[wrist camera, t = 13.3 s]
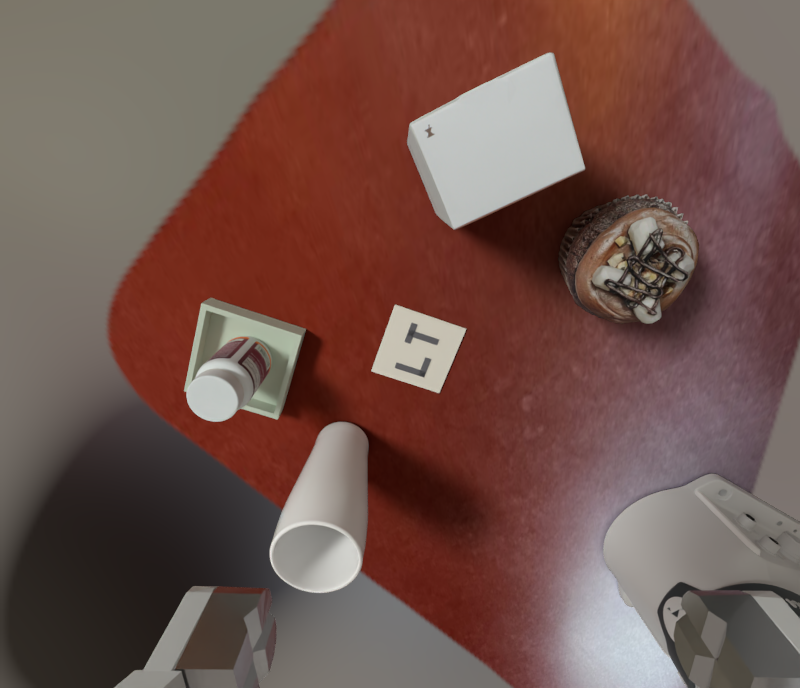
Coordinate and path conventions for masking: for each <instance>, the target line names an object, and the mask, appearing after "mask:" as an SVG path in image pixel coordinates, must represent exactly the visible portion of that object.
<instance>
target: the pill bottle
mask: <svg viewBox="0 0 800 688" xmlns="http://www.w3.org/2000/svg"><path fill="white" fill-rule="evenodd" d="M271 366H272V357H271V353H270V351H269V349H268V348H267V346H266V345H265V344H264V343H263V342H261V341H260V340H258V339H256V338H254V337H250V336H239V337H235V338H233V339H231V340H230V341H228V342H227V343H226V344H225V345H224V346H223V347H222V348H221V349H220V350H218V351H217V352H216V353H215V354H214V355H213V356H212V357H211V358H210V359H209V360H208V361H207V362H205V363H204V364H203V365H202V366H201V367H200V369H199V370H198V372H197V374H196V377H195V379H194V380H193V381H192V382H191V383H190V385H189V387H188V389H187V402H188V404H189V406H190V408H191V409H192V411H193V412H194V413H195V414H196V415H198V416H199V417H201V418H203V419H205V420H208V421H214V422H219V421H224V420H227V419H229V418H230V417H232V416H233V415H234V414H235V413H236V411H237V410H239V409H241V408H242V407H244V406H245V405H246V404H247V403H248V402H249V401H250V400H251V398H252V397H253V395H254V394H255V392H256V391H257V389H258V388H259V386H260V385H261V384H262V382H263V381H264V379H265V378H266V376H267V375H268V373H269V372H270V369H271Z"/></svg>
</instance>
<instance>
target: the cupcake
mask: <svg viewBox="0 0 800 688" xmlns="http://www.w3.org/2000/svg"><path fill="white" fill-rule="evenodd" d="M671 205H672V204H671V203H670V202H666V203H665V202H664V200H663V199H659V200H658V198H657V197H654V198H651V199H649V197H648V196H647V195H644V196H639V195H635V196H632V197H630V198H629V196H628V195H627V196H625V197H623V198H621V199H618V198H617V199H615V200H613V201H611V202H608V203H607V204H604V205H599V206H596V207H594V208H593V209H590V210H588V211H585V212H583V214H582V215H581V216H580V217H578V218H575V219H574V220H573V223H572V226H571V227H570V228H568V230H567V232H566V233H565V236H564V238H563V240H562V242H561V246H560V251H559V258H558V261H559V267H560V269H561V273H562V275H563V277H564V280H565V283H566V284H567V286H568V288H569V291H570V293H571V294H572V296H573V299H574V301H575V303H576V304H577V305H578V306H580V307H581V308H582V309H584V310H585V311H587V312H589V313H590V314H592V315H596V316H597V317H599V318H603V319H606V320H608V321H611V322H615V323H616V324H617V323H621V324H623V323H629V322H639V321H641V322H643V323H646V324H649V323H654V322H655V321H657V320H659V319H660V318H661V317H662V316H661V312H662V311H664V310H666V309H667V308H668V307H669V306H670V305H671V304H672V303H673V302H674V301H675V300H676V299H677V298H678V296H679V295H680V294H681V293H682V291H683V290H684V288H685V287H686V285H687V284H688V282H689V280H690V279H691V276H692V274H693V272H694V269H695V267H696V264H697V258H698V250H699V243H698V240H697V236H696V235H695V233H694V232H693V230H692V229H691V228H690V227H689V226H688V225H687V223H688V221H682V220H681V219H682V217H683V214H682V213H681V214H677V209H678V208H676V207H674V208H671ZM676 214H677V215H676Z"/></svg>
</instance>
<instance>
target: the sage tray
mask: <svg viewBox="0 0 800 688" xmlns="http://www.w3.org/2000/svg"><path fill="white" fill-rule="evenodd" d="M305 332H306V329H304V328H301V327H298V326H295V325H292V324H289V323H286V322H283V321H280V320H277V319H274V318H271V317H268V316H265V315H262V314H259V313H256V312H253V311H250V310H247V309H243V308H240V307H237V306H234V305H231V304H228V303H225V302H222V301H219V300H216V299H213V298H209V299H208V300H206V301H204V302H203V303H201V308H200V313H199V318H198V323H197V328H196V333H195V338H194V343H193V348H192V353H191V359H190V364H189V369H188V374H187V379H186V384H185V389H184V391H185V392H187V389H188V387H189V385H190V383H191V382H192V381H193V380H194V379H195V377H196V374H197V372H198V370H199V369H200V367H201V366H202V365H203V364H204V363H205V362H207V361H208V360H209V359H210V358H211V357H212V356H213V355H214V354H215V353H216V352H217V351H218V350H220V349H221V348H222V347H223V346H224V345H225V344H226V343H227V342H228V341H230V340H231V339H233V338H235V337H239V336H250V337H254V338H256V339H258V340H260V341H261V342H263V343H264V344H265V345H266V346H267V348H268V349H269V351H270V353H271V357H272V366H271V369H270V372H269V373H268V375H267V376H266V378H265V379H264V381H263V382H262V384H261V385H260V386H259V388H258V389H257V391H256V392H255V394H254V395H253V397H252V398H251V400H250V401H249V402H248V403H247V404H246V405H245V406H244V407H242V408H241V409H244V410H248V411H251V412H254V413H258V414H261V415H264V416H267V417H271V418H274V419H277V420H278V418H279V416H280V414H281V412H282V410H283V407H284V404H285V401H286V397H287V394H288V390H289V387H290V383H291V380H292V376H293V373H294V370H295V366H296V363H297V359H298V356H299V352H300V349H301V346H302V342H303V339H304V335H305Z"/></svg>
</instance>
